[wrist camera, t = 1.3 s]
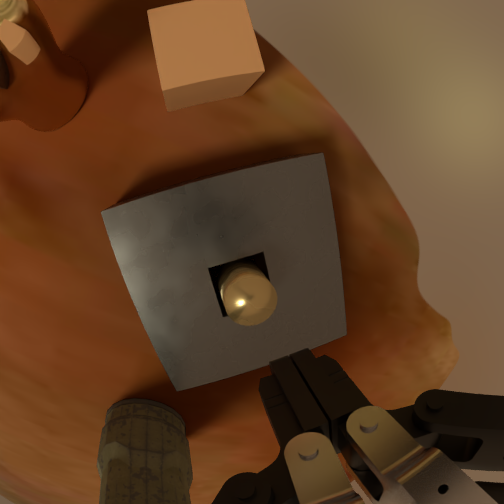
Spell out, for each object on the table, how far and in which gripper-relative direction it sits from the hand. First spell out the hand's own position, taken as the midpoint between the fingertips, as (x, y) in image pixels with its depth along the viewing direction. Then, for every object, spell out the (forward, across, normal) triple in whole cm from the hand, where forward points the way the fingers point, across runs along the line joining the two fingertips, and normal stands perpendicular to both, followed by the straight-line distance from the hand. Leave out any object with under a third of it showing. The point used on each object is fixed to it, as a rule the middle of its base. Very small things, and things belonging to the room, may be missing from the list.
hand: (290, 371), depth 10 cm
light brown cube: (+13, -1, -15) cm, 20 cm away
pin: (+10, 0, 0) cm, 10 cm away
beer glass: (+13, +10, -17) cm, 24 cm away
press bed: (+13, 0, 0) cm, 13 cm away
